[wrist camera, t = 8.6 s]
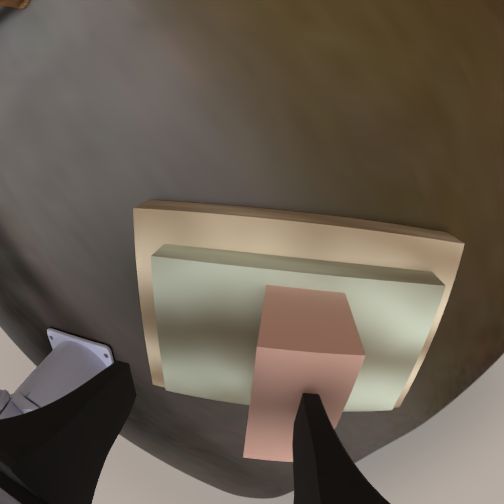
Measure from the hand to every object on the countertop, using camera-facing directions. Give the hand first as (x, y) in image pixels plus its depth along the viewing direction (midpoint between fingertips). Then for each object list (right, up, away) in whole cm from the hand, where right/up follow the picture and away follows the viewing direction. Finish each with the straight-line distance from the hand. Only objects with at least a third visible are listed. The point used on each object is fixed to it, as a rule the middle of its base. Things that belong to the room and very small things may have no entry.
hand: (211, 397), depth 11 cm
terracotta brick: (+4, 0, +5) cm, 7 cm away
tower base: (+4, +2, +9) cm, 10 cm away
